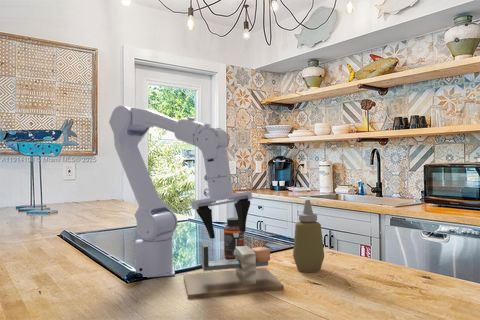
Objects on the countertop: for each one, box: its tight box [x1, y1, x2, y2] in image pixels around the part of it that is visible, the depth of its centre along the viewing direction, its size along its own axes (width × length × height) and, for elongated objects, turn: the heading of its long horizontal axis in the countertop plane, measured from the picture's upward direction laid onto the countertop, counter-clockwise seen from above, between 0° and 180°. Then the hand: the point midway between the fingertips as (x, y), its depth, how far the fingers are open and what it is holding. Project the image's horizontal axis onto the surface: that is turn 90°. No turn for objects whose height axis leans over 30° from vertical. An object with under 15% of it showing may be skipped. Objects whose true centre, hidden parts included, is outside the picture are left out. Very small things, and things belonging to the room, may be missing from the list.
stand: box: [183, 245, 285, 299], centre depth 87 cm, size 21×14×8 cm, turn 102°
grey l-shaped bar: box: [200, 241, 269, 272], centre depth 87 cm, size 15×5×6 cm, turn 102°
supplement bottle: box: [223, 217, 245, 259], centre depth 110 cm, size 6×6×11 cm
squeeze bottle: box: [292, 199, 325, 273], centre depth 96 cm, size 8×8×18 cm
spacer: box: [250, 246, 271, 262], centre depth 88 cm, size 4×4×2 cm
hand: (227, 234), depth 88 cm, fingers open, 7 cm apart
